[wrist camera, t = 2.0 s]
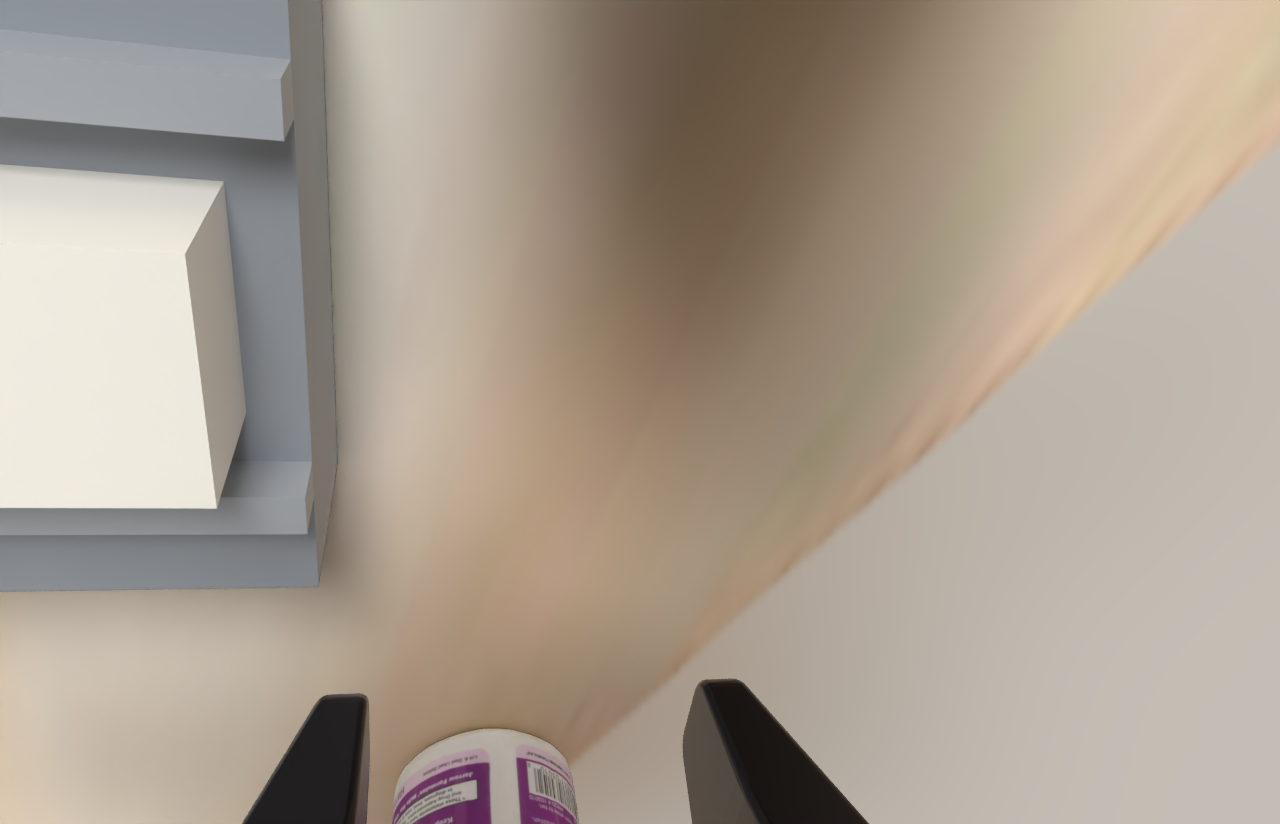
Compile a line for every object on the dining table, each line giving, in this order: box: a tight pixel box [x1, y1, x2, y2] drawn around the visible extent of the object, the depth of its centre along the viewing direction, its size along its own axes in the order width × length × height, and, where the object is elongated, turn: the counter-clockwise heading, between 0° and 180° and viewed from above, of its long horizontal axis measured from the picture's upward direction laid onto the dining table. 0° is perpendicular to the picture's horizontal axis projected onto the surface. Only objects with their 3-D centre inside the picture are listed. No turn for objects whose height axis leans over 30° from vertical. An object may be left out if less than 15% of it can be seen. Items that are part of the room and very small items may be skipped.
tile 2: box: [0, 164, 246, 509], centre depth 13 cm, size 4×4×2 cm
